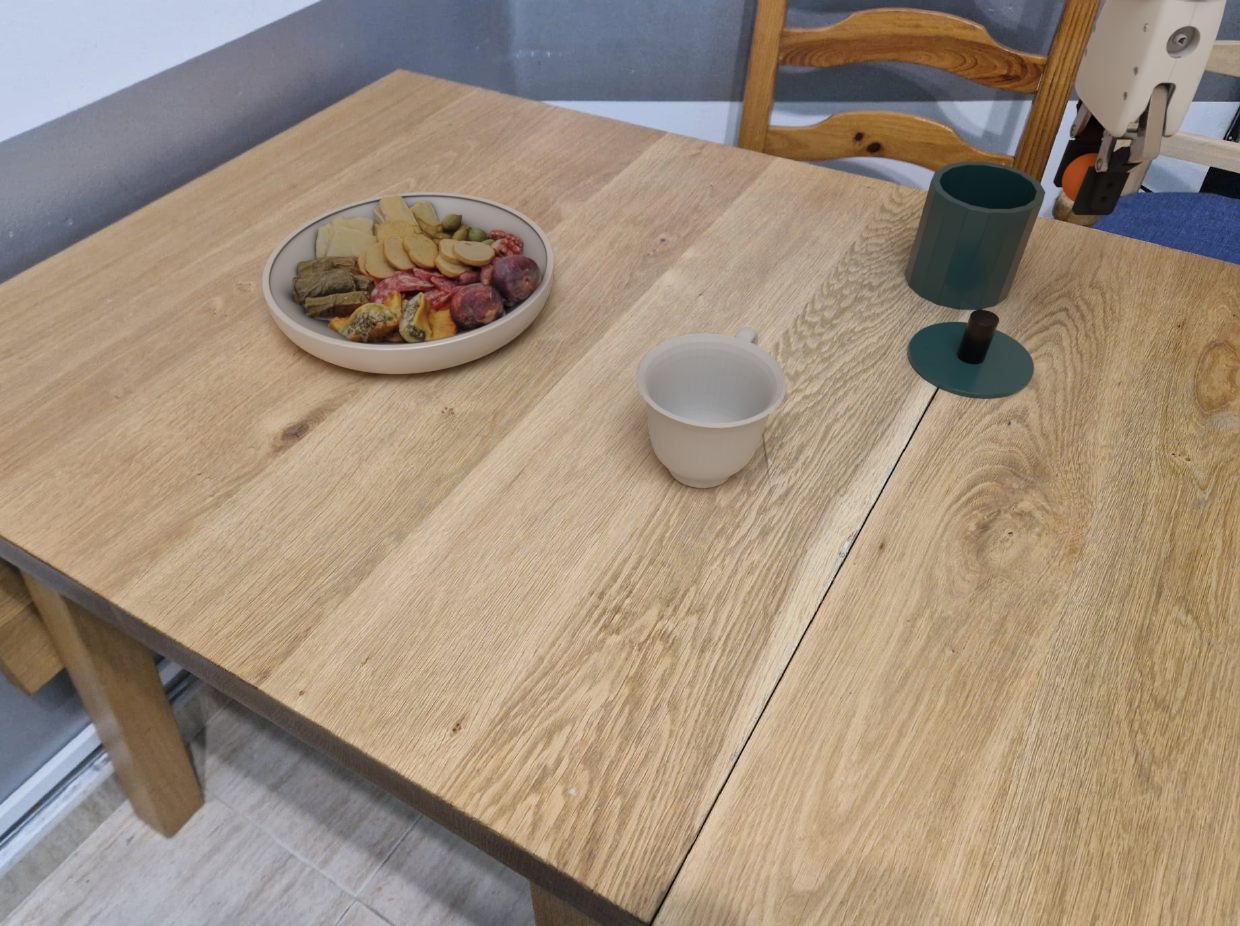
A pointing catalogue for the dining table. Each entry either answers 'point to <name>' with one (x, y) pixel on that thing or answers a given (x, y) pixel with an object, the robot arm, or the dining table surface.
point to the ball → (1077, 174)
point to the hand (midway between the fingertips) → (1081, 197)
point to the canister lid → (971, 357)
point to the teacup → (708, 403)
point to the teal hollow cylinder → (973, 234)
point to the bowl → (409, 281)
